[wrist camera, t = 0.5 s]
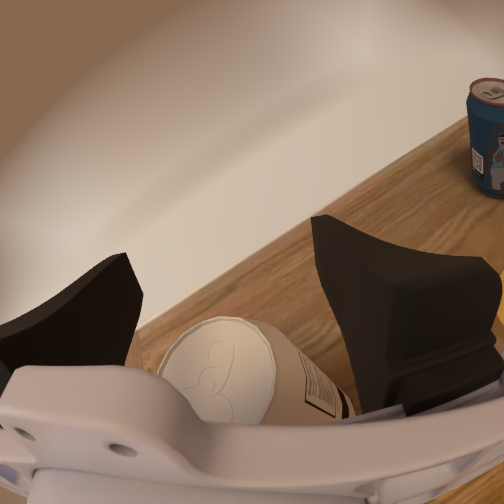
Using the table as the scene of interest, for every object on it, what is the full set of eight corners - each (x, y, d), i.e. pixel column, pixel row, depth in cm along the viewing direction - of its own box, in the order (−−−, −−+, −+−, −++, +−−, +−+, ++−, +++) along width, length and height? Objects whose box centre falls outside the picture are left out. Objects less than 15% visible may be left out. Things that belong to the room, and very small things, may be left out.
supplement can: (344, 476, 19) (260, 489, 10) (256, 457, 24) (127, 431, 14) (365, 385, 24) (308, 307, 14) (279, 377, 28) (175, 303, 18)
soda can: (500, 156, 29) (495, 70, 21) (533, 190, 24) (540, 97, 16) (461, 173, 31) (450, 84, 23) (493, 210, 26) (494, 113, 18)
